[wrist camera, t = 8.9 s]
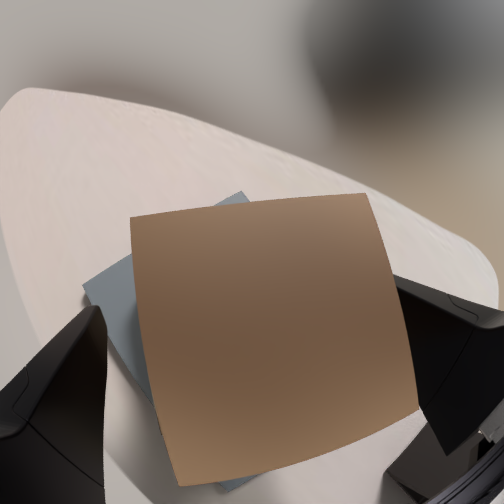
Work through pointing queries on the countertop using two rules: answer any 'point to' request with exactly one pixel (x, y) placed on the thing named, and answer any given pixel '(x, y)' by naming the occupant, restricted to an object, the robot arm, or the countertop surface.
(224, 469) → the walnut block
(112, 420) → the countertop surface
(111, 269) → the slate board
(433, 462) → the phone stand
